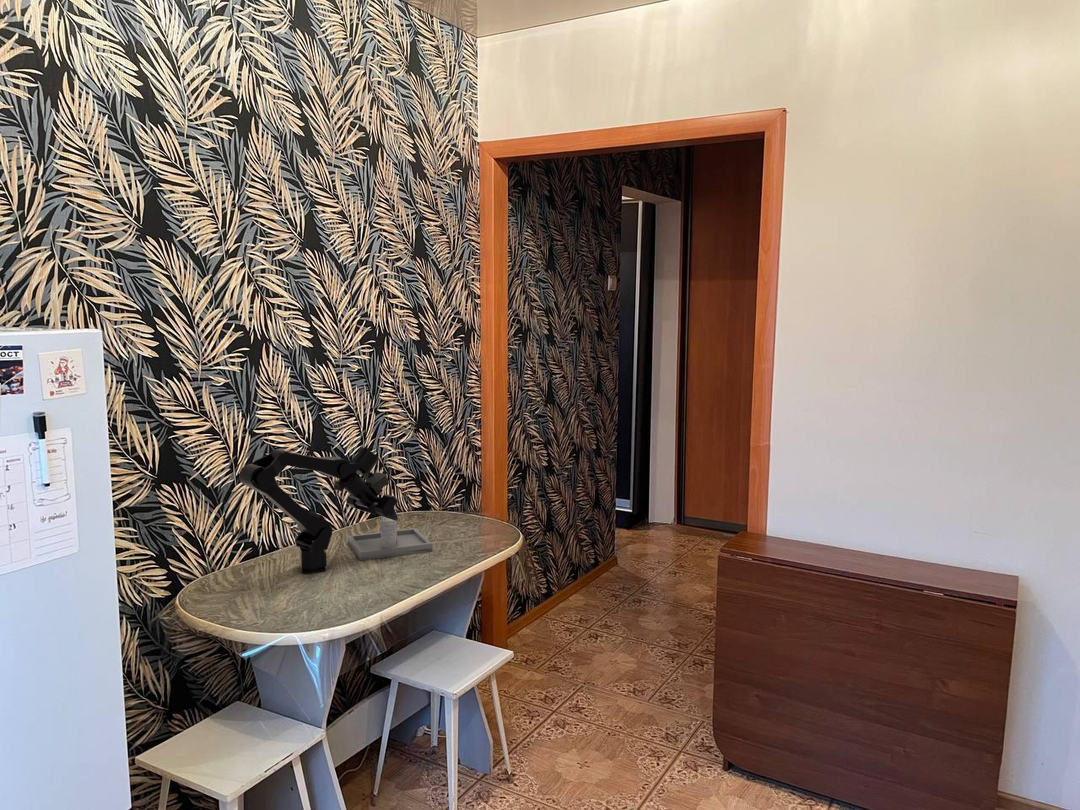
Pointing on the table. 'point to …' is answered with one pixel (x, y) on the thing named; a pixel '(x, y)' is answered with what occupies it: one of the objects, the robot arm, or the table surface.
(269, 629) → the table surface
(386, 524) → the medicine box
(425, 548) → the tray
